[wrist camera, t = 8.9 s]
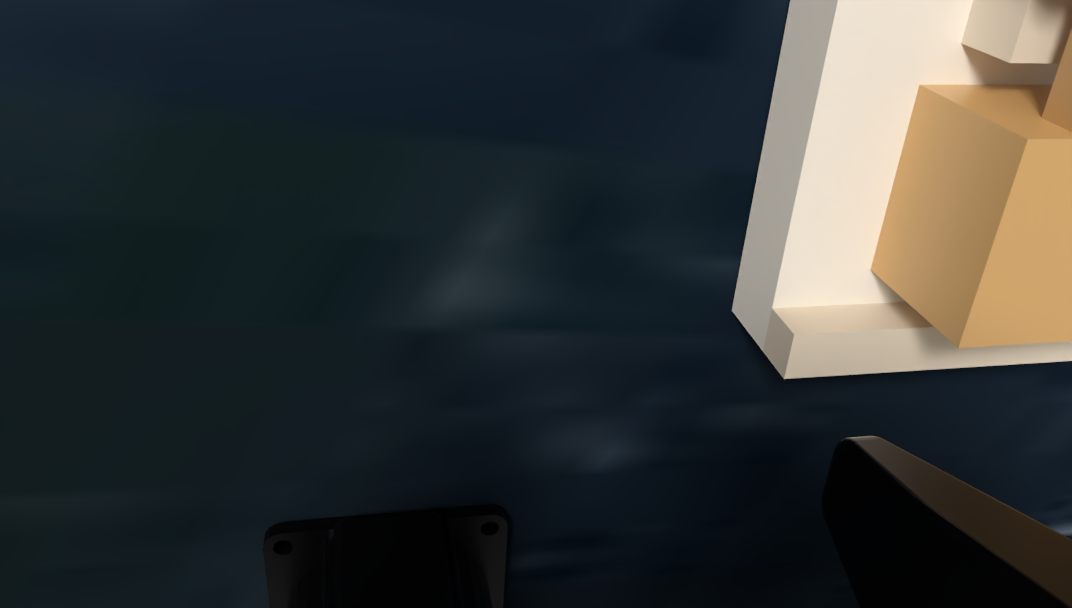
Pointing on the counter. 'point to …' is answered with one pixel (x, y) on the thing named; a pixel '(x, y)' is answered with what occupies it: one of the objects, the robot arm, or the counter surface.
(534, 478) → the counter surface
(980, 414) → the counter surface
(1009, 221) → the tan square dumbbell
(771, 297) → the display stand
